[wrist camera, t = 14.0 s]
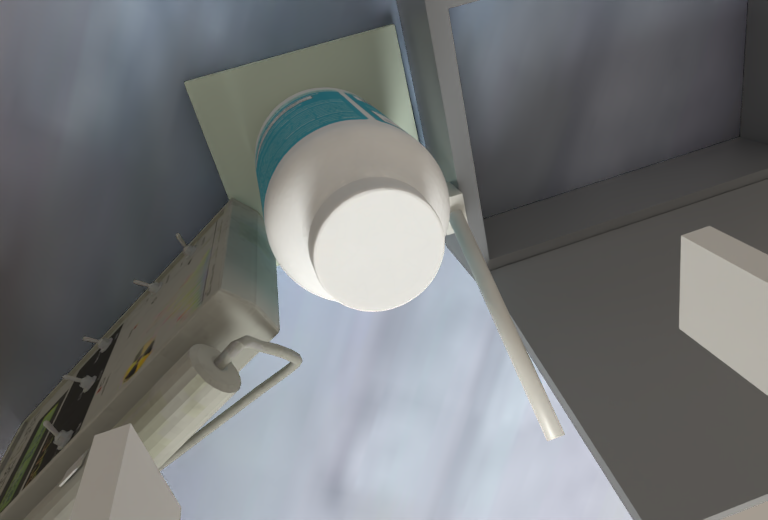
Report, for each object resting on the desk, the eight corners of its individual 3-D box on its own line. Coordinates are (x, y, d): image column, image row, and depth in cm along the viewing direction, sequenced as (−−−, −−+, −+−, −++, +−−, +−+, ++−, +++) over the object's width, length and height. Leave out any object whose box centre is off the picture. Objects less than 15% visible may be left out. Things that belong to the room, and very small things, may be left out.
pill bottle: (249, 214, 32) (259, 345, 20) (258, 76, 29) (275, 132, 17) (380, 222, 34) (459, 346, 22) (400, 94, 31) (503, 156, 19)
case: (372, -4, 29) (572, 2, 12) (770, -112, 32) (1417, -237, 14) (440, 307, 38) (612, 569, 21) (747, 204, 40) (1130, 361, 23)
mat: (184, 81, 29) (183, 82, 28) (391, 23, 30) (394, 24, 29) (256, 267, 34) (256, 272, 33) (431, 212, 35) (434, 216, 34)
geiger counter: (192, 308, 18) (-218, 736, 23) (336, 405, 21) (-55, 770, 25) (220, 180, 31) (-49, 471, 35) (308, 251, 33) (49, 514, 38)
